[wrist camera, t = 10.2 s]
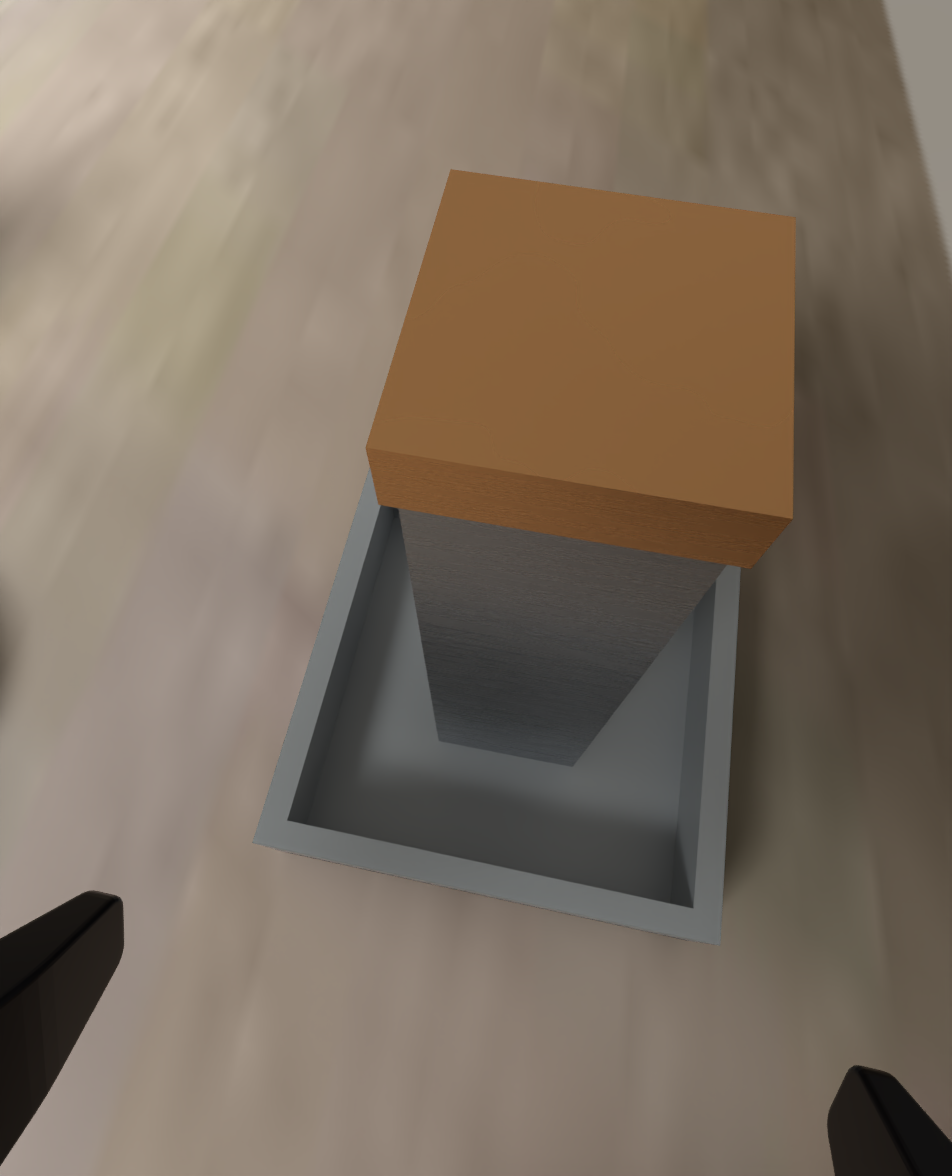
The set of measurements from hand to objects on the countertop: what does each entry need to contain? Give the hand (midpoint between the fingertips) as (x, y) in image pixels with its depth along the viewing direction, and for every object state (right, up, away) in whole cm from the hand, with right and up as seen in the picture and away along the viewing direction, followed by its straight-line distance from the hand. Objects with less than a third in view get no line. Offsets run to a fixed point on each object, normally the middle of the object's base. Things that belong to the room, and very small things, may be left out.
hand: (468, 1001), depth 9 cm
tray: (+1, +2, +11) cm, 11 cm away
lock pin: (+1, +2, +10) cm, 11 cm away
